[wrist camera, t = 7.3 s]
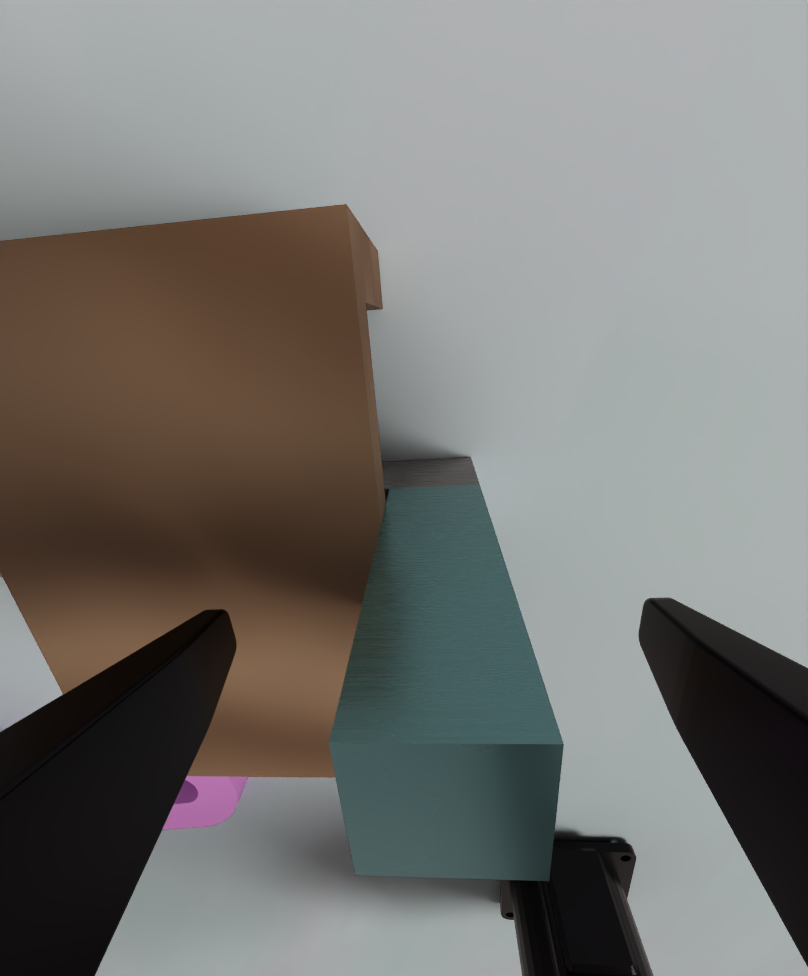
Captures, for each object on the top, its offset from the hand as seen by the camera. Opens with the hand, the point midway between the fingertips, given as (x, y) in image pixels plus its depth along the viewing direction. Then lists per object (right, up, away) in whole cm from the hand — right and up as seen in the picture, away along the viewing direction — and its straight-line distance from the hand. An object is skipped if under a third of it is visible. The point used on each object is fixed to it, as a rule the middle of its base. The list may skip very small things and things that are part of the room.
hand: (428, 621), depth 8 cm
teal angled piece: (-5, +2, +6) cm, 8 cm away
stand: (-6, +2, +6) cm, 9 cm away
